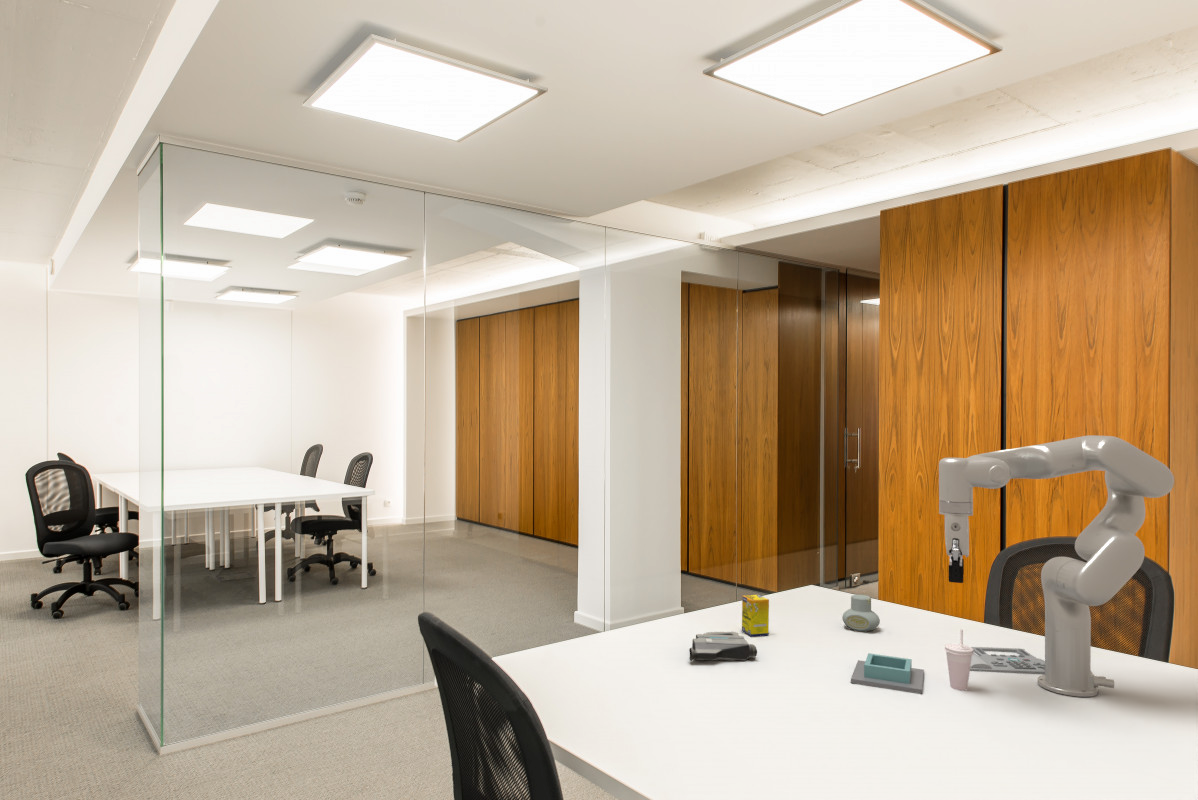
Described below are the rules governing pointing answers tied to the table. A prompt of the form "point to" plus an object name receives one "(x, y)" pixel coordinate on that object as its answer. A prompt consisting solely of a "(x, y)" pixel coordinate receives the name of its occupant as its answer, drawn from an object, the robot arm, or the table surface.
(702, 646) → the camcorder
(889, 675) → the mount
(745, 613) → the supplement box
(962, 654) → the smoothie
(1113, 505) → the robot arm
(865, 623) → the air freshener
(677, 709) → the table surface
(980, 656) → the office telephone
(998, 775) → the table surface
